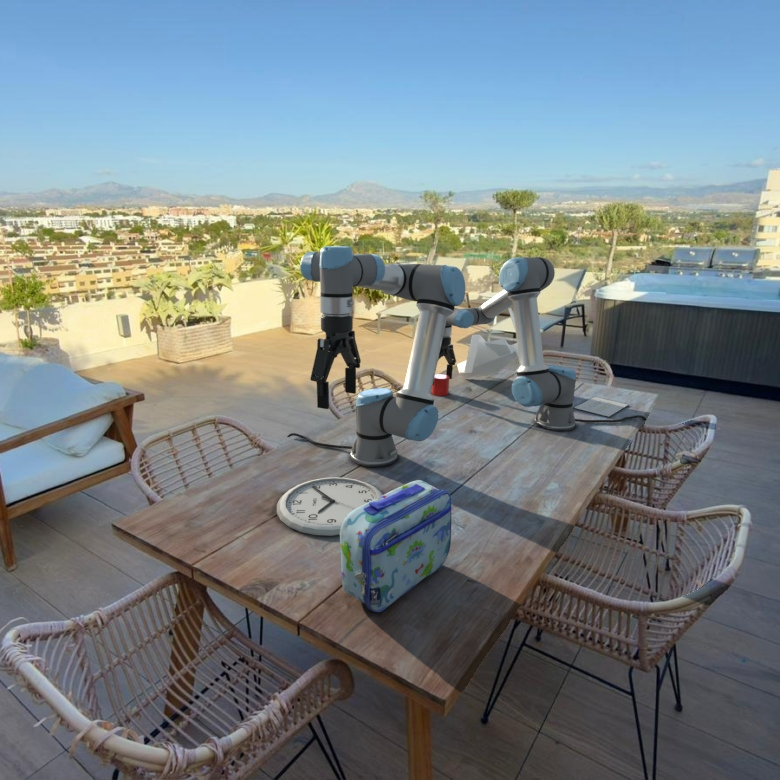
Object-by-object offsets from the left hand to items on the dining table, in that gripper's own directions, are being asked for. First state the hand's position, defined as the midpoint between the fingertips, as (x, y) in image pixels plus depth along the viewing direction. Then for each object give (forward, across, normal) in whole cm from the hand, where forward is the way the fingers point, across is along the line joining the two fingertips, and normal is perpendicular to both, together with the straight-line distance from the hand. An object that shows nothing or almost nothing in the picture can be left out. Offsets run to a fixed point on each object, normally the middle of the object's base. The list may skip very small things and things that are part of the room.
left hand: (337, 400), depth 129 cm
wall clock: (+32, +3, +4) cm, 32 cm away
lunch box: (+32, -19, -25) cm, 45 cm away
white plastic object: (+31, +138, -10) cm, 141 cm away
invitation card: (+31, +126, -58) cm, 143 cm away
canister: (+31, +113, +10) cm, 118 cm away
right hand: (+26, +113, +11) cm, 116 cm away
